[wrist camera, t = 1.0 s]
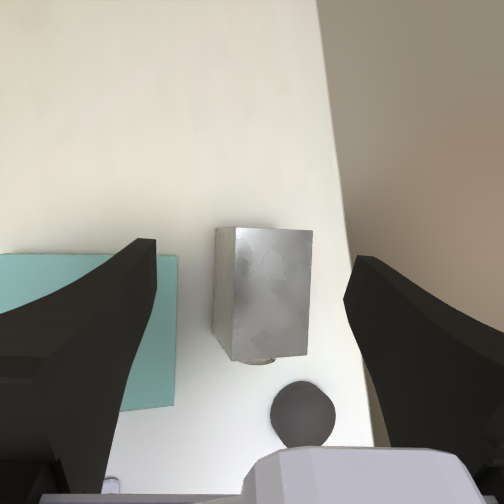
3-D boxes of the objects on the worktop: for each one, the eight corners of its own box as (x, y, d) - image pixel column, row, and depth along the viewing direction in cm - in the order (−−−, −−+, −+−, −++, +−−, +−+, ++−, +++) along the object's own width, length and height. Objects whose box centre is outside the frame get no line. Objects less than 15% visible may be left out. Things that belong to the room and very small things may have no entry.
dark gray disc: (321, 433, 30) (334, 447, 28) (268, 442, 28) (277, 457, 26) (324, 377, 30) (337, 387, 28) (270, 383, 28) (280, 394, 26)
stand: (171, 388, 25) (174, 405, 23) (13, 405, 22) (-2, 426, 20) (174, 254, 25) (177, 257, 22) (13, 252, 22) (-3, 254, 19)
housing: (272, 341, 28) (306, 370, 22) (211, 345, 26) (231, 377, 21) (277, 230, 27) (312, 230, 22) (215, 227, 26) (236, 227, 20)
